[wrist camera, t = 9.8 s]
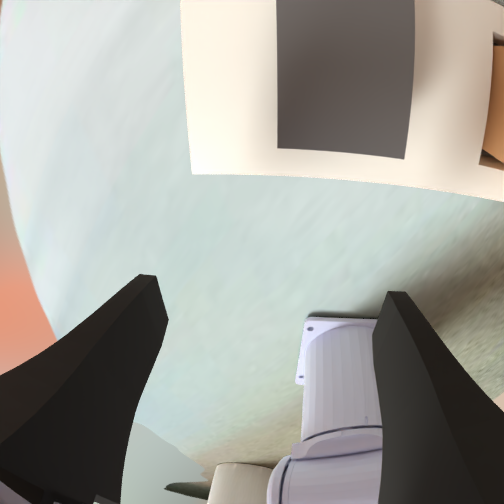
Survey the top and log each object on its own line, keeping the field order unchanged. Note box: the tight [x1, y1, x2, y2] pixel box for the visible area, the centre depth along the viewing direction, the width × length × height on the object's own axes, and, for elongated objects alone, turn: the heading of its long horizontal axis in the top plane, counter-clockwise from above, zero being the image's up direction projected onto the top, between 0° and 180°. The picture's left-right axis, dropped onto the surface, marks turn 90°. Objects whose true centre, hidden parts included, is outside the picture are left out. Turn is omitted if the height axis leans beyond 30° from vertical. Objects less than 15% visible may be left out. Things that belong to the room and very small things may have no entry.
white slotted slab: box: [180, 0, 504, 202], centre depth 9 cm, size 22×10×7 cm, turn 91°
